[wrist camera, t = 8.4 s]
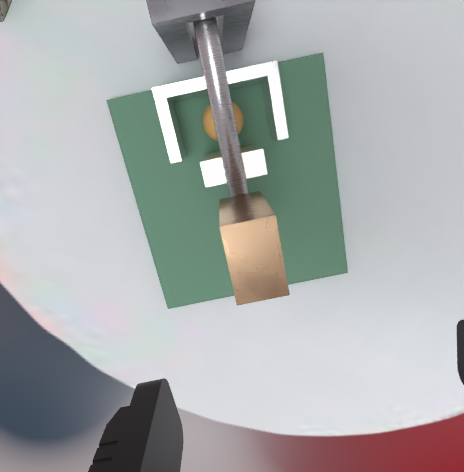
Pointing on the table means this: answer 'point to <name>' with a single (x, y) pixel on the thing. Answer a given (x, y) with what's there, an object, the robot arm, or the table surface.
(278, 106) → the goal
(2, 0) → the coffee box
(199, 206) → the pitch
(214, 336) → the table surface
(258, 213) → the rod
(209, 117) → the ball
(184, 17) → the rod support
